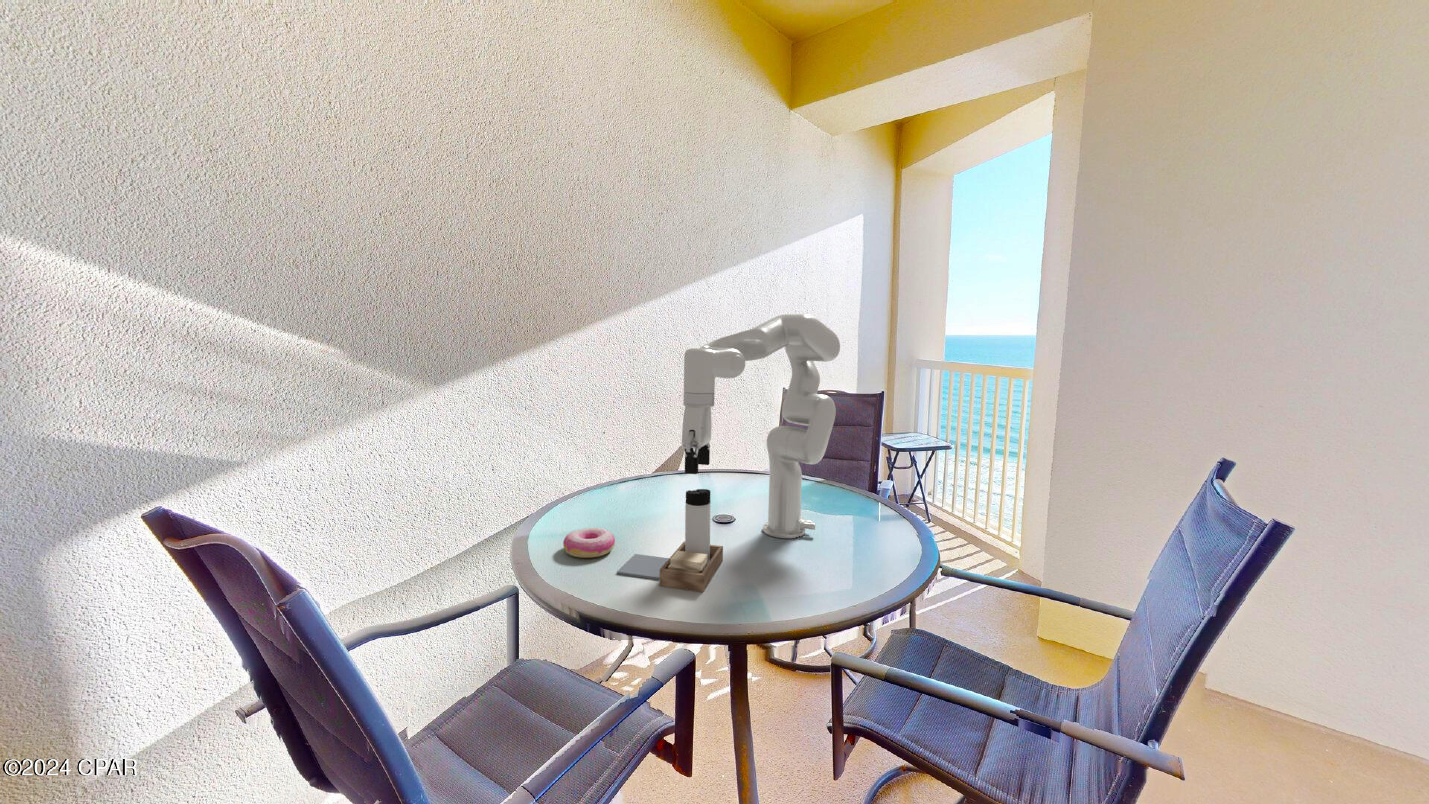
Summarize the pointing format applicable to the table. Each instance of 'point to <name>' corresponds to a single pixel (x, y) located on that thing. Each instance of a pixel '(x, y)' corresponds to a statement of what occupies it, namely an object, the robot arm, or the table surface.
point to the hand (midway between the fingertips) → (697, 468)
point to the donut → (589, 542)
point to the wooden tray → (689, 578)
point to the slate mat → (643, 566)
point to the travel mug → (697, 522)
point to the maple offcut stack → (688, 562)
